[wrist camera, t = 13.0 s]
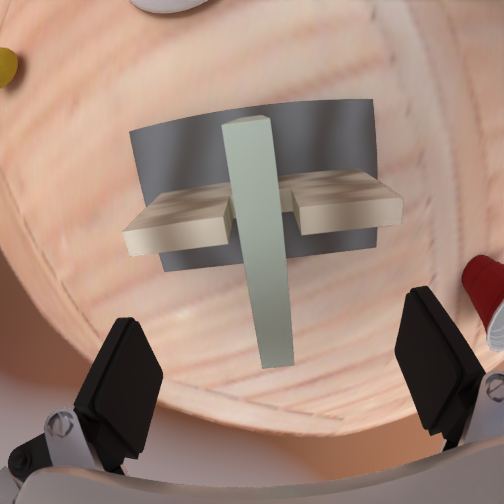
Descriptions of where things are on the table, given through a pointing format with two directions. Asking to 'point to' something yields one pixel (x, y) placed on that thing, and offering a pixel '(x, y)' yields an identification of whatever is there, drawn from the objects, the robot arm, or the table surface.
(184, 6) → the flower in vase
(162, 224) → the board
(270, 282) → the sage plate
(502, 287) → the plastic cup
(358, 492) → the robot arm
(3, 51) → the lemon
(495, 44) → the table surface
